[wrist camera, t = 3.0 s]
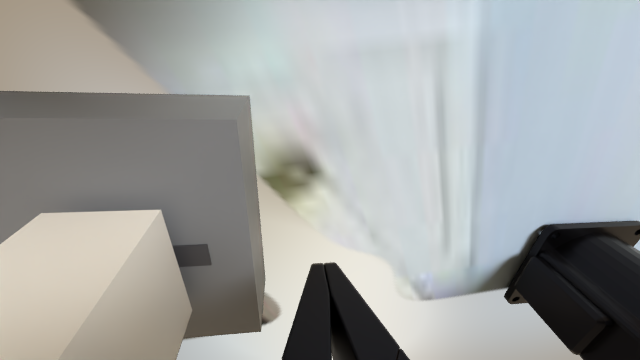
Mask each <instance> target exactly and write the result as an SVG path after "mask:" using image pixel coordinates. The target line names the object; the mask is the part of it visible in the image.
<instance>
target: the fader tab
mask: <svg viewBox="0 0 640 360" xmlns="http://www.w3.org/2000/svg"><path fill="white" fill-rule="evenodd" d="M191 313H192V308H191V304H190V301H189V298H188V295H187V292H186V288H185V285H184V282H183V279H182V276H181V272H180V269H179V266H178V263H177V260H176V256H175V253H174V250H173V247H172V243H171V240H170V237H169V234H168V231H167V227H166V224H165V221H164V218H163V215H162V211H161V210H130V211H96V212H62V213H41V214H39V215H38V216H37V217H35V218H34V219H33V220H31V221H30V222H29V223H28V224H26V225H25V226H24V227H22V228H21V229H20V230H18V231H17V232H16V233H14V234H13V235H12V236H10V237H9V238H8V239H6V240H5V241H4V242H2V243H1V244H0V360H176V358H177V355H178V352H179V349H180V346H181V343H182V340H183V337H184V334H185V331H186V328H187V325H188V322H189V319H190V316H191Z"/></svg>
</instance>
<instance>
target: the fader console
mask: <svg viewBox="0 0 640 360" xmlns="http://www.w3.org/2000/svg"><path fill="white" fill-rule="evenodd" d="M130 210H161V211H162V215H163V218H164V221H165V224H166V227H167V231H168V234H169V237H170V240H171V243H172V247H173V250H174V253H175V256H176V260H177V263H178V266H179V269H180V272H181V276H182V279H183V282H184V285H185V288H186V292H187V295H188V298H189V301H190V304H191V308H192V313H191V316H190V319H189V322H188V325H187V328H186V331H185V334H184V337H183V338H190V337H202V336H214V335H226V334H237V333H249V332H261V325H262V312H263V300H264V287H265V270H264V259H263V247H262V235H261V224H260V213H259V201H258V189H257V178H256V166H255V155H254V143H253V132H252V120H251V108H250V97H249V96H233V95H180V94H127V93H73V92H68V93H67V92H20V91H19V92H18V91H0V244H1V243H2V242H4V241H5V240H6V239H8V238H9V237H10V236H12V235H13V234H14V233H16V232H17V231H18V230H20V229H21V228H22V227H24V226H25V225H26V224H28V223H29V222H30V221H31V220H33V219H34V218H35V217H37V216H38V215H39V214H41V213H62V212H96V211H130Z"/></svg>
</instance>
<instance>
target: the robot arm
mask: <svg viewBox="0 0 640 360" xmlns="http://www.w3.org/2000/svg"><path fill="white" fill-rule="evenodd" d="M639 240H640V222H639V221H622V222H599V223H575V224H553V225H550V226H547V227H546V228H545V229H544V230H543V231H542V232H541V234H540V236H539V237H538V239H537V241H536V242H535V244H534V246H533V247H532V249H531V251H530V252H529V254H528V256H527V258H526V259H525V261H524V263H523V264H522V266H521V268H520V269H519V271H518V273H517V275H516V276H515V278H514V280H513V281H512V283H511V285H510V286H509V288H508V290H507V291H506V293H505V296H504V297H505V299H506V300H507V301H508V303H510V304H519V303H529V304H530V306H531V307H532V308H533V309H534V310H535V311H536V313H537V314H538V315H539V316H540V317H541V318H542V319H543V320H544V322H545V323H546V324H547V325H548V326H549V327H550V328H551V330H552V331H553V332H554V333H555V334H556V335H557V336H558V338H559V339H560V340H561V341H562V342H563V343H564V344H565V345H566V347H567V348H568V349H569V350H570V351H571V352H572V353H574V354H576V355H580V356H581V358H582V359H583V360H640V251H639V250H637V249H636V248H634V245H635V244H636V243H637V242H638V241H639ZM399 348H400V347H399V345H398V344H397V343H396V341H395V340H394V339H393V337H392V336H391V335H390V333H389V332H388V331H387V329H386V328H385V327H384V325H383V324H382V323H381V322H380V320H379V319H378V318H377V316H376V315H375V314H374V312H373V311H372V310H371V308H370V307H369V306H368V304H367V303H366V302H365V300H364V299H363V298H362V297H361V295H360V294H359V293H358V291H357V290H356V289H355V287H354V286H353V285H352V284H351V282H350V281H349V280H348V278H347V277H346V275H345V274H344V273H343V272H342V270H341V269H340V268H339V266H338V265H337V264H336V263H325V264H324V265H323V263H315V264H312V265H311V268H310V271H309V274H308V277H307V280H306V283H305V287H304V290H303V293H302V296H301V299H300V302H299V306H298V309H297V312H296V315H295V319H294V321H293V325H292V328H291V331H290V334H289V337H288V340H287V344H286V347H285V350H284V353H283V356H282V360H332V356H333V360H410V359H409V358H408V357H407V356H406V354H405V353H404V352H403V350H402V349H399Z"/></svg>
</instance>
